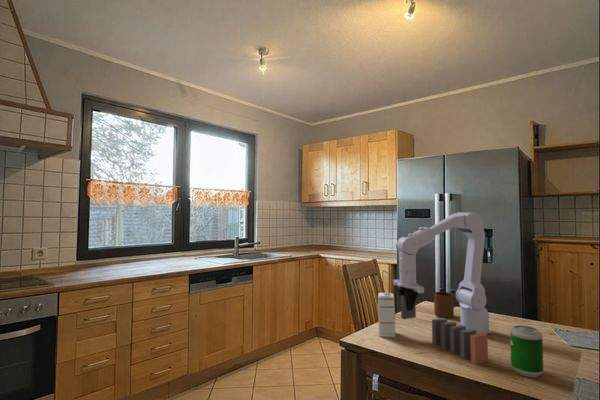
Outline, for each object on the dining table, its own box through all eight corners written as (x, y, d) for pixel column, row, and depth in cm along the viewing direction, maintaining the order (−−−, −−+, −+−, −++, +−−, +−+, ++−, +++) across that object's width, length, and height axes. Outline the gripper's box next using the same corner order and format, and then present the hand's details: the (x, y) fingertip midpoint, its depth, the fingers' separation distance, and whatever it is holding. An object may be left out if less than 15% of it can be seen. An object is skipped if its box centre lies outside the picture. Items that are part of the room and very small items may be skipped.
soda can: (550, 376, 96) (548, 331, 97) (530, 380, 94) (528, 335, 94) (524, 364, 103) (523, 323, 104) (504, 368, 101) (503, 326, 101)
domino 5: (472, 354, 111) (472, 328, 111) (476, 356, 109) (476, 330, 110) (460, 357, 109) (459, 330, 109) (464, 359, 108) (463, 332, 108)
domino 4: (462, 349, 115) (461, 324, 115) (466, 351, 113) (465, 326, 113) (450, 352, 113) (449, 326, 113) (454, 354, 111) (453, 328, 112)
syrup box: (395, 337, 126) (395, 296, 126) (378, 336, 127) (378, 295, 127) (394, 332, 131) (394, 292, 132) (378, 331, 133) (377, 292, 133)
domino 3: (452, 345, 118) (452, 321, 119) (456, 347, 117) (456, 322, 117) (441, 347, 117) (440, 323, 117) (444, 349, 115) (444, 324, 115)
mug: (458, 313, 154) (458, 291, 154) (467, 318, 147) (467, 295, 147) (431, 313, 154) (431, 291, 154) (439, 319, 146) (438, 296, 147)
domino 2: (444, 341, 122) (443, 317, 122) (447, 342, 121) (447, 319, 121) (432, 343, 120) (432, 319, 120) (435, 345, 119) (435, 321, 119)
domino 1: (412, 316, 128) (412, 293, 128) (415, 317, 127) (415, 294, 127) (401, 317, 126) (400, 295, 127) (404, 319, 125) (403, 296, 125)
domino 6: (483, 359, 107) (482, 332, 107) (487, 361, 106) (487, 334, 106) (470, 362, 105) (470, 335, 106) (475, 364, 104) (474, 337, 104)
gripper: (386, 268, 132) (386, 305, 132) (411, 275, 119) (412, 316, 118) (401, 267, 135) (402, 303, 134) (428, 273, 121) (429, 313, 121)
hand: (408, 309), depth 127 cm, fingers closed on domino 1, 1 cm apart
